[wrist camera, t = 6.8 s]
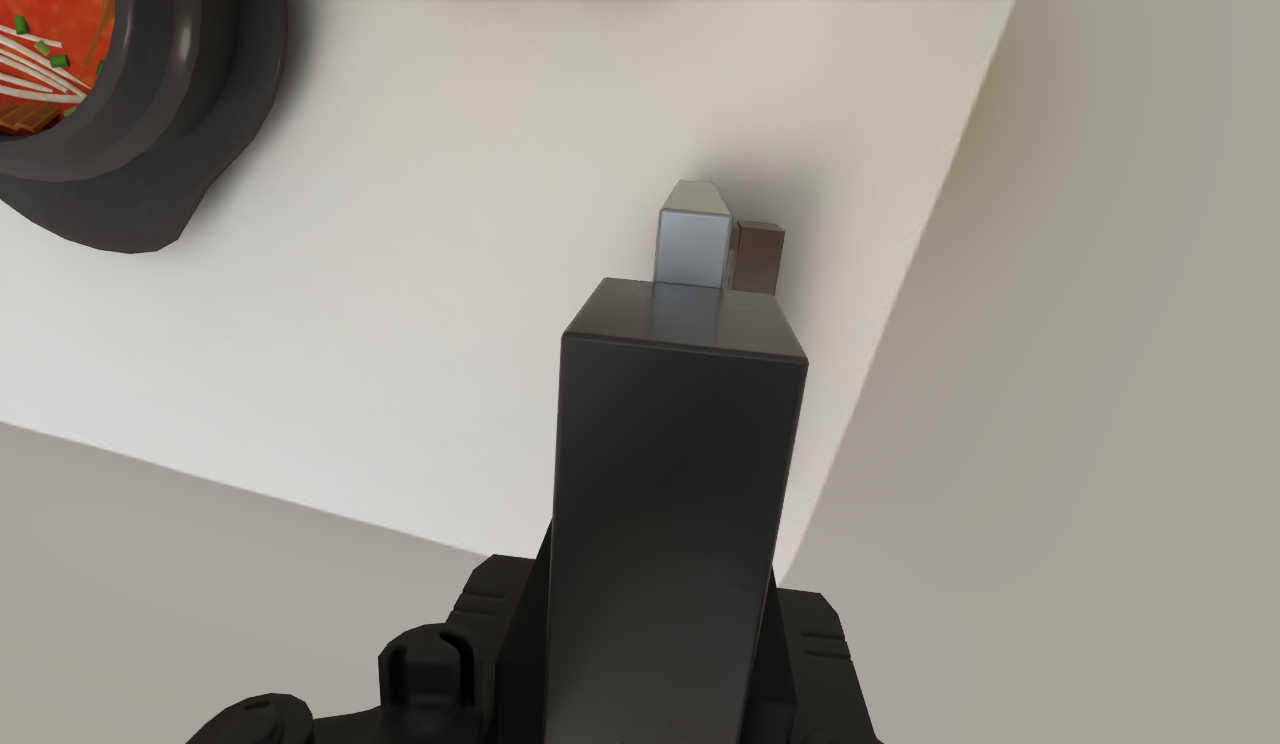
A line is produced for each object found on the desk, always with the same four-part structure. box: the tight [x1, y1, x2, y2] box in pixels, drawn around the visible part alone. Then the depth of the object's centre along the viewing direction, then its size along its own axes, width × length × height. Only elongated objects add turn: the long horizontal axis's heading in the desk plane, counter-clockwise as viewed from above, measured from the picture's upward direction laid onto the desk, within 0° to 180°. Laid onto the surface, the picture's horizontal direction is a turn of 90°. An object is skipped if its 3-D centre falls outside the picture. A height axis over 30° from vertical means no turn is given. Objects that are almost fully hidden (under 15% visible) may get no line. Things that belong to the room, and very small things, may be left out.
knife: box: [541, 180, 809, 744], centre depth 14 cm, size 2×14×13 cm, turn 175°
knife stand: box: [728, 221, 785, 296], centre depth 34 cm, size 6×17×3 cm, turn 175°
